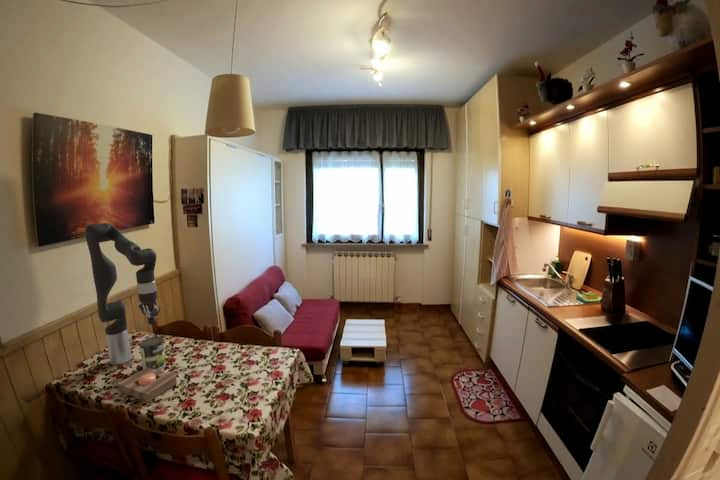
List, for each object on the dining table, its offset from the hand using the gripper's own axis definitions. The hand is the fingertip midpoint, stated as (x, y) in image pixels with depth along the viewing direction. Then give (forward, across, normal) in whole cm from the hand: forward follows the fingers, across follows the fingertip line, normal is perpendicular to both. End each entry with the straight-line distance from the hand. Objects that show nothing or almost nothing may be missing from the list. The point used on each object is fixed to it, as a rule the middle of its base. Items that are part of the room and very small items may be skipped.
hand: (151, 323), depth 151 cm
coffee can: (+28, -8, +4) cm, 29 cm away
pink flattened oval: (+27, +6, -9) cm, 29 cm away
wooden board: (+27, +6, -9) cm, 29 cm away
